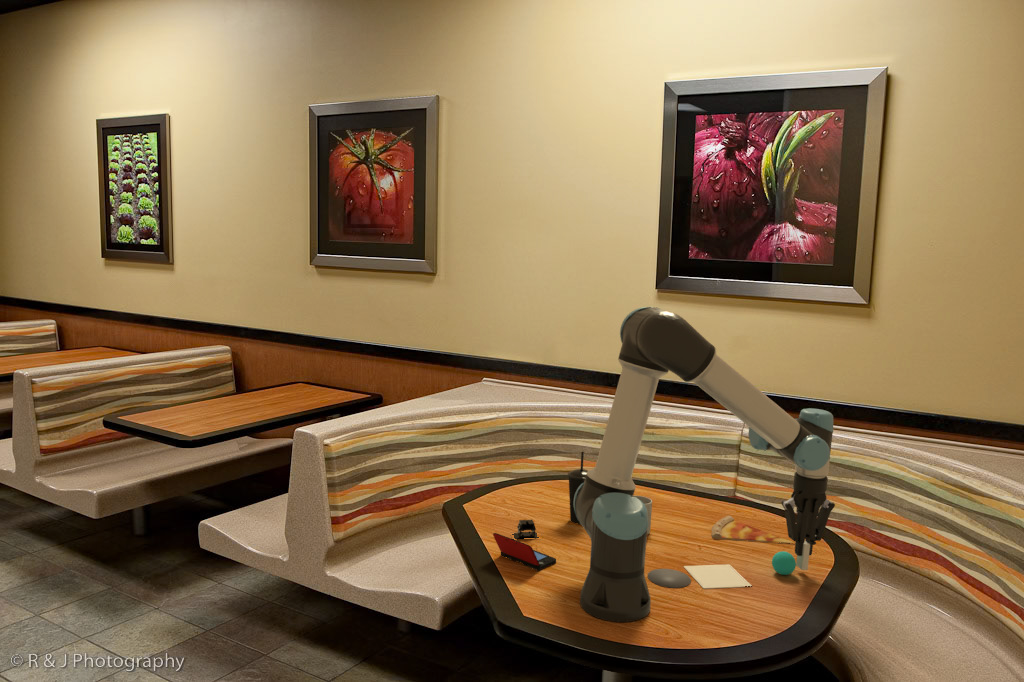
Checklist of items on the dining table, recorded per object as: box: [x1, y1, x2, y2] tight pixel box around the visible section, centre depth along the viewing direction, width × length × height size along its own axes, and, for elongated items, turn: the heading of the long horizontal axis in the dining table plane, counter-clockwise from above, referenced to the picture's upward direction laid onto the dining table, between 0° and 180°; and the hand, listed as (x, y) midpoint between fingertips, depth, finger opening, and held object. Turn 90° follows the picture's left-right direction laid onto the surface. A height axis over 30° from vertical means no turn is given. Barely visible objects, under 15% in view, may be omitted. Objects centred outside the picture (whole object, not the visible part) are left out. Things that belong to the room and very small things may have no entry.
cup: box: [633, 495, 653, 535], centre depth 210 cm, size 7×10×9 cm
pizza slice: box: [711, 515, 796, 544], centre depth 211 cm, size 16×22×2 cm
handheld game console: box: [492, 532, 557, 572], centre depth 190 cm, size 12×11×7 cm
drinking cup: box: [567, 451, 589, 525], centre depth 217 cm, size 8×8×20 cm
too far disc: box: [647, 568, 692, 589], centre depth 183 cm, size 10×10×1 cm
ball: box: [771, 550, 797, 576], centre depth 188 cm, size 6×6×6 cm
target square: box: [683, 563, 753, 590], centre depth 185 cm, size 12×12×1 cm
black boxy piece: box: [512, 519, 539, 539], centre depth 206 cm, size 12×7×5 cm, turn 100°
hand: (801, 567), depth 189 cm, fingers closed
